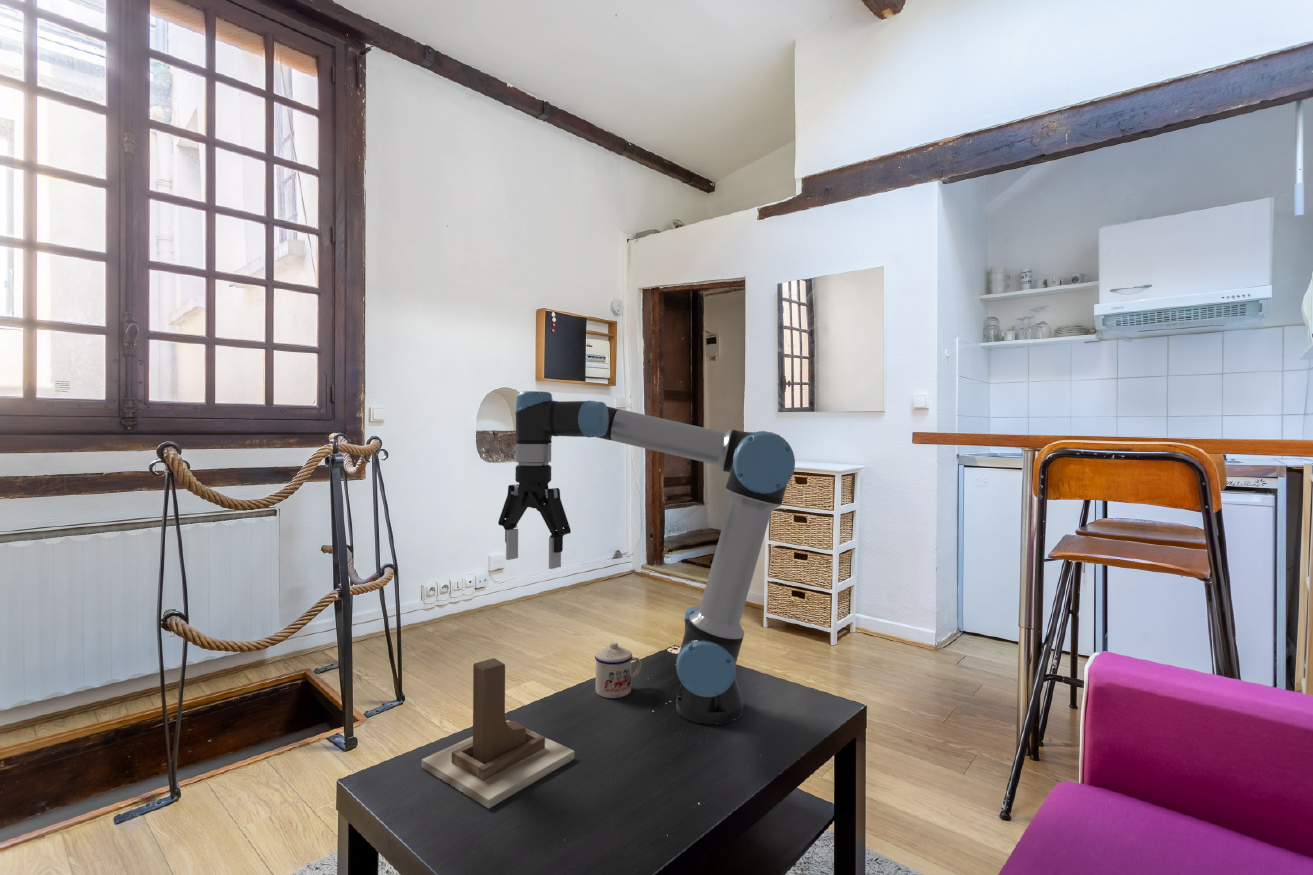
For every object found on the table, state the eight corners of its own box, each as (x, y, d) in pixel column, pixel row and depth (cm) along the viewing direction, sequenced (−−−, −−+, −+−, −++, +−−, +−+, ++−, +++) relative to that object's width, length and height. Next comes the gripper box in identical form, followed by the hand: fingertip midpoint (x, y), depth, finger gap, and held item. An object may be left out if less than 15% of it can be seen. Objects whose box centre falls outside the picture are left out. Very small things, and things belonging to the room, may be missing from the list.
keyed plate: (574, 758, 118) (574, 740, 118) (488, 808, 102) (488, 787, 102) (507, 727, 130) (507, 710, 130) (421, 767, 115) (421, 748, 115)
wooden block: (514, 742, 121) (515, 651, 121) (526, 751, 118) (527, 658, 118) (471, 758, 115) (472, 663, 115) (483, 768, 112) (483, 670, 112)
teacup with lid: (604, 702, 143) (604, 652, 143) (588, 687, 151) (589, 640, 151) (649, 692, 149) (649, 644, 149) (632, 678, 157) (632, 633, 157)
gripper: (588, 465, 126) (587, 568, 127) (509, 461, 142) (509, 552, 142) (561, 467, 120) (560, 575, 121) (482, 462, 136) (481, 558, 136)
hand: (532, 563), depth 131 cm, fingers open, 13 cm apart
